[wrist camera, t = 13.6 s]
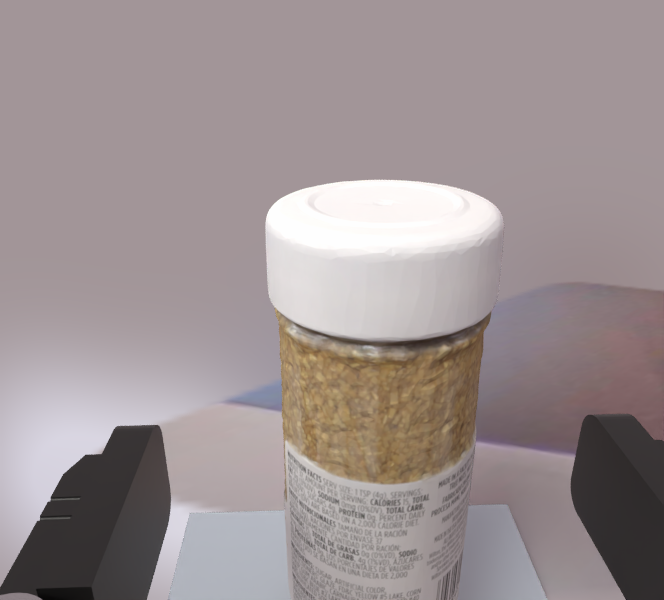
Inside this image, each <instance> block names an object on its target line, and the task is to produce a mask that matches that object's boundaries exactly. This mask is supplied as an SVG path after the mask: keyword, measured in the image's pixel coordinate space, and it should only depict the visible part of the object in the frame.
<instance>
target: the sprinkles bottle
mask: <svg viewBox="0 0 664 600" xmlns="http://www.w3.org/2000/svg"><path fill="white" fill-rule="evenodd" d="M265 228H266V229H265V230H266V259H267V279H268V292H269V297H270V300H271V302H272V304H273V305H274V307H275V312H276V317H277V319H278V321H279V325H280V327H279V334H280V358H281V363H282V364H281V377H282V417H283V434H284V459H285V491H284V510H285V525H286V547H287V568H288V585H289V592H290V596H291V600H458V594H459V584H460V575H461V566H462V558H463V549H464V541H465V533H466V524H467V515H468V506H469V496H470V487H471V478H472V469H473V461H474V452H475V443H476V424H475V417H476V408H477V400H478V384H479V374H480V366H481V358H482V353H483V333H484V330H485V329H486V327H487V326H488V324H489V321H490V317H491V311H492V309H493V308H494V306H495V304H496V302H497V298H498V292H499V282H500V272H501V262H502V252H503V237H504V222H503V217H502V214H501V213H500V211H499V210H498V209H497V207H496V206H495V205H494V204H492V203H491V202H489V201H488V200H487V199H485V198H483V197H481V196H478V195H476V194H474V193H472V192H469V191H465V190H462V189H459V188H454V187H450V186H445V185H440V184H433V183H426V182H416V181H403V180H361V181H345V182H337V183H330V184H325V185H319V186H315V187H310V188H305V189H302V190H299V191H296V192H293V193H291V194H289V195H287V196H285V197H283V198H281V199H280V200H278V201H277V202H276V203H275V204H274V205H273V206H272V207H271V208H270V210H269V212H268V214H267V217H266V224H265Z"/></svg>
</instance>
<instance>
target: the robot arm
mask: <svg viewBox="0 0 664 600" xmlns="http://www.w3.org/2000/svg"><path fill="white" fill-rule="evenodd" d="M571 495H572V500H573V504H574V507H575V510H576V512H577V514H578V516H579V518H580V519H581V521H582V523H583V525H584V526H585V528H586V530H587V532H588V533H589V535H590V537H591V539H592V541H593V542H594V544H595V546H596V548H597V549H598V551H599V553H600V555H601V556H602V558H603V560H604V562H605V563H606V565H607V567H608V569H609V570H610V572H611V574H612V576H613V578H614V579H615V581H616V583H617V585H618V586H619V588H620V590H621V592H622V593H623V595H624V597H625V599H626V600H664V441H662V440H654V439H653V438H652V437H651V436H650V435H649V433H648V432H647V431H646V430H645V429H644V428H643V427H642V425H641V424H640V423H639V422H638V421H637V420H636V418H635V417H633V416H632V415H630V414H602V415H588V416H586V417H585V419H584V421H583V423H582V427H581V432H580V437H579V442H578V447H577V452H576V457H575V462H574V467H573V472H572V477H571ZM170 506H171V493H170V485H169V478H168V471H167V464H166V457H165V450H164V444H163V437H162V432H161V429H160V427H159V426H158V425H142V426H117V427H116V428H115V429H114V431H113V433H112V435H111V437H110V439H109V441H108V443H107V445H106V447H105V449H104V451H103V453H102V454H96V455H85V456H84V457H83V458H82V459H80V460H79V461H78V462H77V463H76V464H75V465H74V466H72V467H71V468H70V469H69V470H68V471H67V472H66V473H64V474H63V476H62V478H61V480H60V481H59V483H58V485H57V487H56V489H55V490H54V492H53V494H52V496H51V501H50V502H48V503H47V505H46V506H45V508H44V510H43V512H42V514H41V515H40V521H37V523H36V525H35V526H34V528H33V530H32V532H31V533H30V535H29V537H28V539H27V541H26V543H25V544H24V546H23V548H22V550H21V551H20V553H19V555H18V557H17V559H16V560H15V562H14V564H13V566H12V567H11V569H10V571H9V573H8V575H7V576H6V578H5V580H4V582H3V584H2V586H1V587H0V600H147V596H148V593H149V589H150V586H151V582H152V579H153V575H154V572H155V568H156V565H157V561H158V558H159V554H160V551H161V547H162V544H163V540H164V537H165V533H166V530H167V526H168V522H169V516H170Z"/></svg>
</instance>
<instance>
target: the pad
mask: <svg viewBox="0 0 664 600" xmlns="http://www.w3.org/2000/svg"><path fill="white" fill-rule="evenodd" d="M168 600H291V596H290V592H289V585H288V568H287V547H286V525H285V510H280V511H244V512H208V513H190V515H189V519H188V523H187V527H186V530H185V535H184V538H183V542H182V546H181V550H180V554H179V558H178V562H177V566H176V570H175V574H174V578H173V581H172V585H171V589H170V593H169V598H168ZM458 600H547V597H546V595H545V593H544V590H543V588H542V585H541V583H540V581H539V578H538V576H537V574H536V571H535V569H534V566H533V564H532V562H531V559H530V557H529V555H528V552H527V550H526V547H525V545H524V543H523V540H522V538H521V536H520V533H519V531H518V528H517V526H516V524H515V521H514V519H513V517H512V514H511V512H510V509H509V507H508V505H507V504H493V505H469V506H468V515H467V524H466V533H465V541H464V549H463V558H462V566H461V575H460V584H459V594H458Z"/></svg>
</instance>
